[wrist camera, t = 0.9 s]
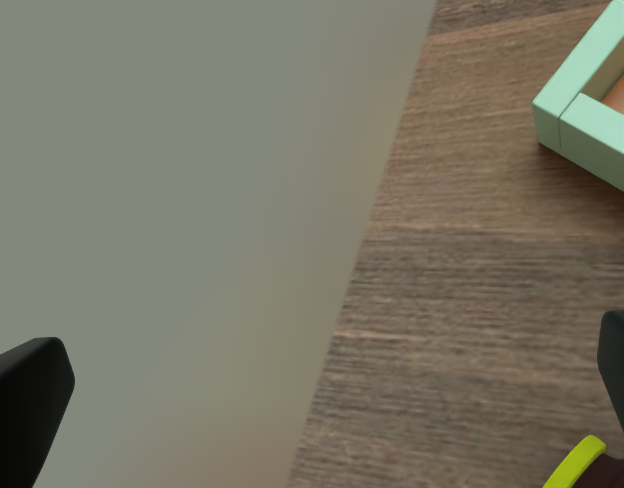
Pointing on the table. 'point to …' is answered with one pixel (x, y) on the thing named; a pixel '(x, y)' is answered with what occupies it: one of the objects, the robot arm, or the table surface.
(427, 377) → the table surface
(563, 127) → the mount tray
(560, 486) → the opera glasses
